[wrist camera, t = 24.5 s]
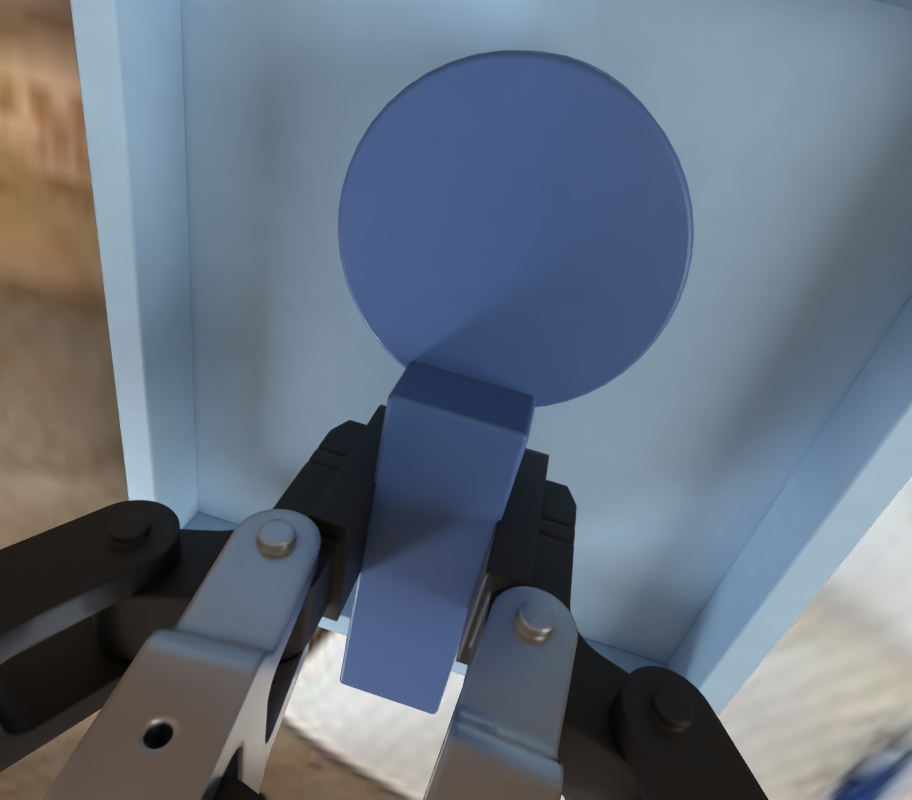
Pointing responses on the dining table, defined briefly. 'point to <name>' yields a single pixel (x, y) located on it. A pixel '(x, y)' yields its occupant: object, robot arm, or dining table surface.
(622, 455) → the blue tray
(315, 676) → the dining table surface
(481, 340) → the blue spoon
